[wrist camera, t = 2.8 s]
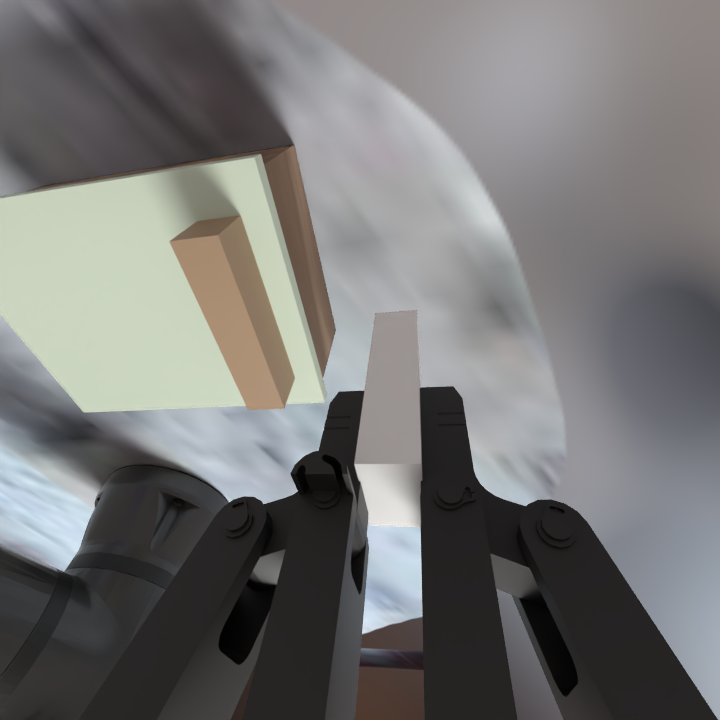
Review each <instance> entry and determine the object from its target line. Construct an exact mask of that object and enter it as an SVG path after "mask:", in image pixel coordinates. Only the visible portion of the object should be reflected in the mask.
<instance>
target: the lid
mask: <svg viewBox="0 0 720 720" xmlns="http://www.w3.org/2000/svg"><path fill="white" fill-rule="evenodd" d="M0 315H1V316H2V317H3V318H4V320H5V321H6V322H7V323H8V324H9V325H10V327H11V328H12V329H13V330H14V331H15V332H16V334H17V335H18V336H19V337H20V338H21V339H22V341H23V342H24V343H25V344H26V345H27V347H28V348H29V349H30V350H31V351H32V352H33V354H34V355H35V356H36V357H37V358H38V359H39V361H40V362H41V363H42V364H43V365H44V366H45V368H46V369H47V370H48V371H49V372H50V374H51V375H52V376H53V377H54V378H55V379H56V381H57V382H58V383H59V384H60V385H61V386H62V388H63V389H64V390H65V391H66V392H67V393H68V395H69V396H70V397H71V398H72V399H73V401H74V402H75V403H76V404H77V405H78V406H79V408H80V409H81V410H82V411H83V412H84V413H86V412H110V411H134V410H158V409H181V408H205V407H229V406H246V407H247V409H248V410H257V409H282V408H285V405H286V404H300V403H324V402H325V399H326V395H327V392H326V388H325V384H324V381H323V377H322V374H321V370H320V366H319V363H318V359H317V355H316V352H315V348H314V344H313V341H312V337H311V334H310V330H309V326H308V323H307V319H306V315H305V312H304V308H303V305H302V301H301V297H300V294H299V290H298V286H297V283H296V279H295V276H294V272H293V268H292V265H291V261H290V257H289V254H288V250H287V247H286V243H285V239H284V236H283V232H282V228H281V225H280V221H279V218H278V214H277V210H276V207H275V203H274V199H273V196H272V192H271V188H270V185H269V181H268V178H267V174H266V170H265V167H264V163H263V159H262V156H261V154H256V155H250V156H244V157H238V158H231V159H225V160H219V161H213V162H207V163H201V164H194V165H188V166H182V167H176V168H170V169H164V170H158V171H151V172H145V173H139V174H133V175H127V176H121V177H114V178H108V179H102V180H96V181H90V182H84V183H78V184H71V185H65V186H59V187H53V188H47V189H41V190H34V191H28V192H22V193H16V194H10V195H4V196H0Z"/></svg>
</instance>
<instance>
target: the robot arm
mask: <svg viewBox="0 0 720 720" xmlns="http://www.w3.org/2000/svg"><path fill="white" fill-rule="evenodd" d="M291 476H292V478H293V481H294V483H295V485H296V487H297V490H298V492H297V493H295V494H294V495H291V496H289V497H287V498H284V499H280V500H277V501H274V502H270V503H267V504H264V505H263V503H262V501H260V500H258V499H256V498H255V497H241V498H238V499H234V500H233V501H231V502H230V503H228V502H227V501H226V500H225V499H224V498H223V497H222V496H221V495H220V494H219V493H218V492H217V491H216V490H214V489H213V488H211V487H210V486H208V485H207V484H205V483H203V482H202V481H200V480H198V479H196V478H193V477H191V476H189V475H186V474H183V473H181V472H178V471H174V470H171V469H166V468H161V467H155V466H129V467H124V468H121V469H119V470H117V471H115V472H114V473H112V474H111V475H110V477H109V478H108V480H107V481H106V482H105V484H104V485H103V486H102V488H101V489H100V491H99V492H98V494H97V497H96V500H95V509H94V511H93V514H92V516H91V518H90V520H89V523H88V526H87V528H86V531H85V534H84V537H83V540H82V543H81V546H80V548H79V550H78V552H77V554H76V555H75V557H74V558H73V560H72V561H71V563H70V564H69V566H68V567H67V569H66V570H65V572H63V571H60V570H58V569H56V568H54V567H52V566H49V565H47V564H45V563H43V562H40V561H38V560H36V559H34V558H31V557H29V556H27V555H25V554H22V553H20V552H18V551H16V550H13V549H11V548H9V547H7V546H5V545H2V544H0V720H230V719H231V717H232V714H233V712H234V710H235V708H236V706H237V703H238V701H239V699H240V697H241V694H242V692H243V690H244V687H245V685H246V683H247V681H248V679H249V676H250V674H251V671H252V670H253V667H254V665H255V663H256V661H257V663H256V667H255V671H254V675H253V679H252V683H251V687H250V690H249V694H248V699H247V702H246V706H245V710H244V714H243V718H242V720H355V710H356V698H357V686H358V673H359V662H360V649H361V637H362V625H363V613H364V601H365V589H366V577H367V565H368V553H369V546H368V538H367V525H368V519H369V523H370V526H398V527H421V558H422V606H423V654H424V702H425V720H517V715H516V708H515V702H514V697H513V690H512V684H511V678H510V672H509V665H508V659H507V653H506V647H505V641H504V634H503V628H502V623H501V617H500V610H499V604H498V598H497V592H496V588H497V589H499V590H502V591H504V592H506V593H509V594H511V595H512V597H513V599H514V601H515V604H516V606H517V609H518V611H519V613H520V616H521V618H522V621H523V623H524V625H525V628H526V630H527V633H528V635H529V638H530V640H531V642H532V645H533V647H534V650H535V652H536V654H537V657H538V659H539V661H540V664H541V666H542V669H543V671H544V673H545V676H546V678H547V681H548V683H549V685H550V688H551V690H552V693H553V695H554V697H555V700H556V702H557V705H558V707H559V709H560V712H561V715H562V717H563V719H564V720H718V719H717V718H716V716H715V715H714V713H713V712H712V710H711V709H710V707H709V706H708V704H707V703H706V701H705V700H704V698H703V697H702V695H701V694H700V692H699V690H698V689H697V687H696V686H695V684H694V683H693V681H692V680H691V678H690V677H689V676H688V674H687V672H686V671H685V669H684V668H683V666H682V665H681V663H680V662H679V660H678V659H677V657H676V656H675V654H674V653H673V651H672V650H671V648H670V647H669V645H668V644H667V642H666V641H665V639H664V637H663V636H662V635H661V633H660V631H659V630H658V629H657V627H656V625H655V624H654V622H653V621H652V619H651V618H650V616H649V615H648V613H647V612H646V610H645V609H644V607H643V606H642V604H641V603H640V601H639V600H638V599H637V597H636V595H635V594H634V592H633V591H632V589H631V588H630V586H629V584H628V583H627V581H626V580H625V579H624V577H623V575H622V574H621V572H620V571H619V570H618V568H617V566H616V565H615V563H614V562H613V560H612V559H611V557H610V556H609V554H608V553H607V551H606V550H605V548H604V547H603V545H602V544H601V542H600V541H599V539H598V538H597V536H596V535H595V533H594V531H593V530H592V528H591V527H590V525H589V524H588V523H587V521H586V520H585V519H584V518H583V517H582V516H581V515H580V514H579V513H578V512H577V511H575V510H574V509H573V508H571V507H569V506H568V505H566V504H564V503H561V502H557V501H554V500H537V501H535V502H532V503H530V504H528V505H527V506H523V505H519V504H516V503H513V502H510V501H507V500H504V499H501V498H499V497H496V496H494V495H493V494H491V493H490V492H488V491H487V490H486V489H485V488H484V487H483V486H482V485H481V484H480V483H479V481H478V479H477V478H476V476H475V473H474V469H473V463H472V457H471V450H470V444H469V438H468V431H467V427H466V419H465V413H464V406H463V400H462V397H461V396H460V395H459V393H458V392H457V391H456V389H455V388H454V387H453V386H451V387H425V388H421V367H420V351H419V336H418V320H417V310H412V311H399V312H386V313H375V320H374V327H373V334H372V341H371V348H370V355H369V363H368V370H367V377H366V384H365V391H346V392H339V393H338V394H337V395H336V396H335V398H334V399H333V400H332V402H331V403H330V406H329V410H328V414H327V419H326V422H325V427H324V431H323V435H322V439H321V443H320V448H319V451H315V452H312V453H310V454H308V455H306V456H304V457H303V458H302V459H301V460H300V461H299V462H298V463H296V464H295V466H294V468H293V470H292V472H291Z"/></svg>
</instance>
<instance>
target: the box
mask: <svg viewBox="0 0 720 720" xmlns="http://www.w3.org/2000/svg"><path fill="white" fill-rule="evenodd" d="M256 154H261V156H262V159H263V163H264V167H265V170H266V174H267V178H268V181H269V185H270V188H271V192H272V196H273V199H274V203H275V207H276V210H277V214H278V218H279V221H280V225H281V228H282V232H283V236H284V239H285V243H286V247H287V250H288V254H289V257H290V261H291V265H292V268H293V272H294V276H295V279H296V283H297V286H298V290H299V294H300V297H301V301H302V305H303V308H304V312H305V315H306V319H307V323H308V326H309V330H310V334H311V337H312V341H313V344H314V348H315V352H316V355H317V359H318V363H319V366H320V370H321V374H322V377H323V376H324V372H325V368H326V365H327V361H328V357H329V353H330V350H331V346H332V342H333V338H334V335H335V331H336V329H335V324H334V320H333V316H332V311H331V307H330V302H329V298H328V293H327V289H326V284H325V280H324V276H323V271H322V267H321V262H320V258H319V253H318V249H317V244H316V240H315V235H314V231H313V227H312V222H311V218H310V213H309V209H308V204H307V200H306V195H305V191H304V186H303V182H302V178H301V173H300V169H299V164H298V160H297V155H296V151H295V146H294V145H290V146H284V147H278V148H271V149H265V150H259V151H253V152H247V153H241V154H235V155H229V156H223V157H217V158H211V159H204V160H198V161H192V162H186V163H180V164H174V165H168V166H162V167H156V168H150V169H144V170H137V171H131V172H125V173H119V174H113V175H107V176H101V177H95V178H89V179H83V180H77V181H70V182H64V183H58V184H52V185H46V186H43V187H39V188H36V189H33V190H30V191H34V190H41V189H47V188H53V187H59V186H65V185H71V184H78V183H84V182H90V181H96V180H102V179H108V178H114V177H121V176H127V175H133V174H139V173H145V172H151V171H158V170H164V169H170V168H176V167H182V166H188V165H194V164H201V163H207V162H213V161H219V160H225V159H231V158H238V157H244V156H250V155H256ZM27 192H28V191H27Z"/></svg>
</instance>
